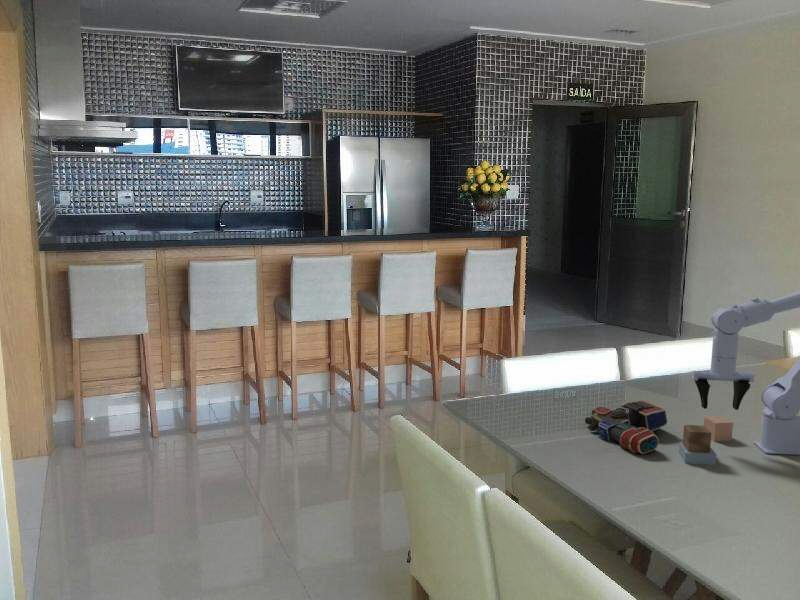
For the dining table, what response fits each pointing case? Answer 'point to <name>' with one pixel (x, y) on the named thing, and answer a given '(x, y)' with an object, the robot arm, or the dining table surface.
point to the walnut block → (697, 438)
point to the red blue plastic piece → (629, 425)
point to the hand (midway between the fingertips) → (719, 408)
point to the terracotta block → (719, 428)
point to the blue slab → (697, 456)
